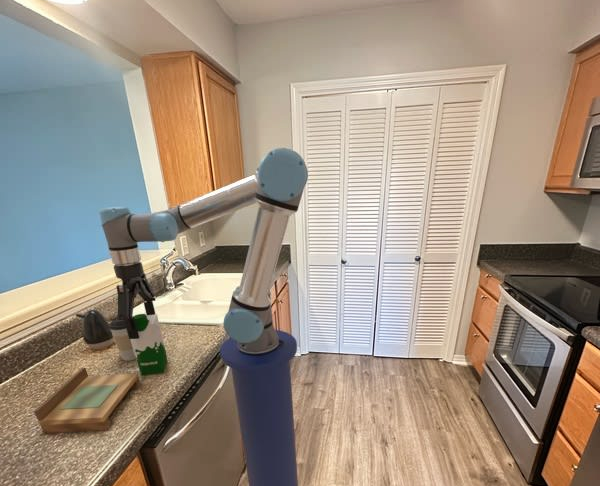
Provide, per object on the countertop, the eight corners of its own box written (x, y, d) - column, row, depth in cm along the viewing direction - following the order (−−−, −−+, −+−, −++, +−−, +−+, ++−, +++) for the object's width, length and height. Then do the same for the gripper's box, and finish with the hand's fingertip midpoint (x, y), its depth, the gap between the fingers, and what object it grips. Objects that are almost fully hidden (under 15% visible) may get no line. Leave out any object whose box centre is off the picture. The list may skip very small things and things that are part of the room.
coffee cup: (121, 352, 120) (110, 315, 114) (147, 347, 123) (137, 311, 117) (116, 364, 112) (104, 324, 107) (144, 359, 115) (134, 320, 109)
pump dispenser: (92, 342, 129) (80, 307, 123) (120, 338, 131) (109, 303, 125) (82, 354, 120) (69, 317, 114) (112, 350, 122) (101, 313, 116)
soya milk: (138, 377, 104) (121, 321, 96) (144, 363, 112) (129, 310, 104) (166, 373, 105) (152, 317, 97) (170, 360, 113) (158, 307, 105)
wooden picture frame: (140, 384, 100) (135, 364, 98) (106, 429, 82) (98, 407, 79) (89, 386, 100) (82, 367, 97) (43, 433, 82) (33, 411, 79)
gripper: (133, 254, 106) (148, 314, 114) (90, 275, 83) (112, 347, 91) (156, 253, 106) (169, 313, 114) (119, 273, 83) (138, 346, 91)
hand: (144, 328), depth 103 cm, fingers open, 13 cm apart
